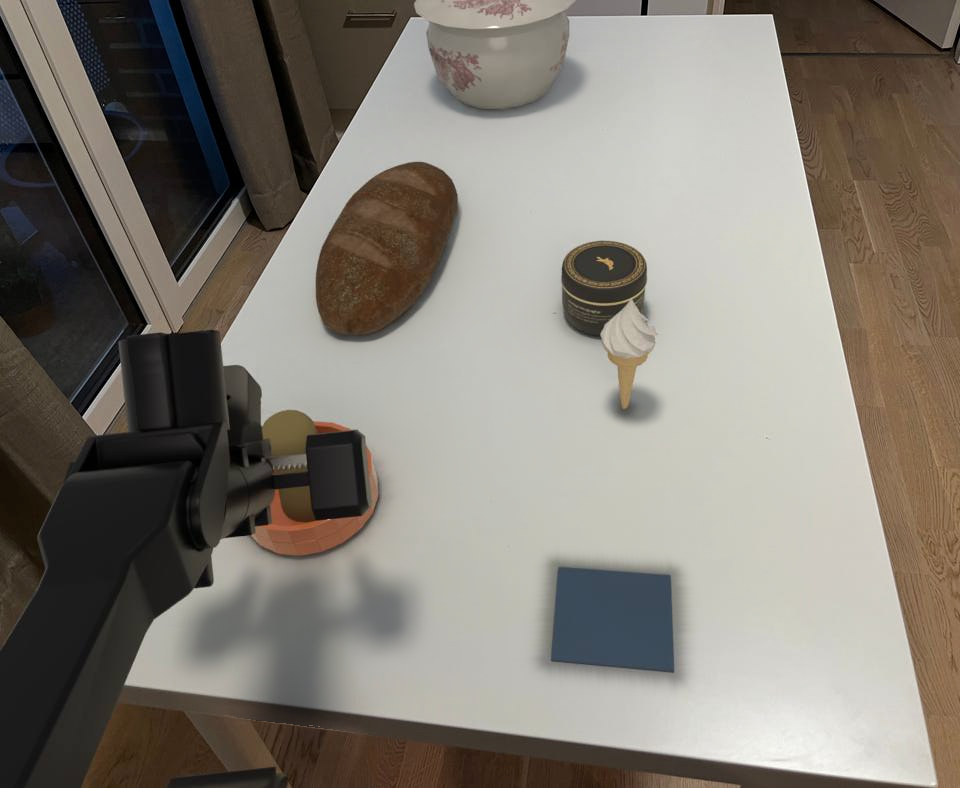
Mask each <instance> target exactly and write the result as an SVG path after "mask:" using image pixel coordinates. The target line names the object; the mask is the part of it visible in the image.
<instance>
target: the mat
mask: <svg viewBox="0 0 960 788" xmlns="http://www.w3.org/2000/svg"><path fill="white" fill-rule="evenodd" d="M672 599H673V598H672V575H671V574H661V573H659V574H657V573H647V572H636V571H635V572H634V571H620V570H619V571H618V570H605V569H593V568H592V569H591V568H579V567H568V566H566V567H565V566H558V567H557V578H556V592H555V602H554V603H555V605H554V617H553V631H552V642H551V643H552V644H551V655H550V661H551V662H559V663H570V664H580V665H592V666H603V667H612V668H613V667H614V668H624V669H636V670H644V671H645V670H647V671H656V672H657V671H658V672H668V673H669V672H670V673H675V657H674V654H675V653H674V630H673V628H674V627H673V602H672Z"/></svg>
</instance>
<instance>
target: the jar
mask: <svg viewBox="0 0 960 788" xmlns="http://www.w3.org/2000/svg"><path fill="white" fill-rule="evenodd" d="M560 278H561V280H560V282H561V302H562V303H561V304H562V309H563V312H564V315H565V318H566V320H567V321H568V323H569V324H570V325H571V327H574V328H575V330H577V331H578V332H580V333H583V334H586V335H590V336H593V337H601V335H600V334H601V332H602V330H603V328H604V325H605V324H606V323H607V322H609V321H610V320H611V319H612V318H613V317H614V316H615V315H616V314H617V313H619V312H620V311H621V310H622V309H623V308H624V307H625V306H626V305H627V304H628V302H629V301H630V300H631V299H632V300H633V302H634V304H635V305H636V307H637V308H638V309H639V312H640V313H641V314H642V312H643V309H644V305H645V294H646V287H647V284H648V266H647V261H646V259H645V257H644V255H643V254H642V253H641V252H640V251H639V250H638V249H636V248H635V247H633V246H632V245H629V244H626V243H624V242H619V241H615V240H595V241H589V242H586V243H583V244H580V245H578V246H576V247H574V248H573V249H571V250H570V251H569V252H567V254H566V255H565V257H564V258H563V261H562V264H561V276H560Z"/></svg>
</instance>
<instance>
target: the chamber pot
mask: <svg viewBox="0 0 960 788" xmlns="http://www.w3.org/2000/svg"><path fill="white" fill-rule="evenodd" d="M576 1H577V0H415V1H414V2H413V3H414V4H413V6H414V9H415V12H416V14H417V15H419V16H420V17H421V18H423V19H424V20H426V21H427V22H429V24H428V26H427V29H426V32H425V34H426V42H427V48H428V51H429V55H430V57H431V61H432V64H433V67H434V70H435V73H436V76H437V77H438V79H439V80H440V81H441V83H442V84H443V85H444V86H445V88H446V89H447V91H448V92H449V93H450V94H451V95H452V96H453V97H455V98H456V99H457V100H458V101H460V102H461V104H464V105H467V106H469V107H471V108H477V109H484V110H505V109H511V108H512V109H513V108H518V107H521V106H524V105H528V104H531V103H533V102H534V101H536V100H538V99H541V98H542V97H543V96H544V95H545V94H546V93H547V92H548V90H550V89H551V88H552V86H553V85H554V83H555V81H556V80H557V78H558V76H559V74H560V73H561V72H562V69H563V68H564V65H565V61H566V54H567V49H568V46H569V45H568V44H569V39H570V19H569V17H568V15H567V14H566V10H568V9H569V8H570V7H571V6H572V5H573V4H574V3H575V2H576Z"/></svg>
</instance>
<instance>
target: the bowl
mask: <svg viewBox="0 0 960 788" xmlns="http://www.w3.org/2000/svg"><path fill="white" fill-rule="evenodd" d="M312 421H313V423H314V425H315V427H316V430H317V434H320V433H329V432H339V431H348V430H352V429H351V428H348V427H346V426H343V425H340V424H338V423H336V422H329V421H318V420H317V421H316V420H315V421H314V420H312ZM366 449H367V458H368V468H369V477H370V487H371V496H372V505H371V506H370V508H369V509H368V510H367V511H366V512H365V513H364V514H363V515H362V516H358V517H348V518H339V519H329V520H320V521H312V522H297V521H294V520H292V519H290V518H289V517H287V516H286V515H285V514H284V512H283V509H282V507H281V502H280V497H279V492H278V489H275V495H274V499H273V501H272V503H271V504H270V508H271V517H272V523H271V524H269V525H265V526H255V531H256V533H254V534H253V535H250V537H251V538H252V539H253V540H254V541H255V542H256V543H257V544H258V545H259V546H260V547H261V548H265V549H267V550H268V551H272V552H274V553H275V554H278V555H287V556H297V557H299V556H305V555H311V554H312V555H313V554H317V553H321V552H322V553H323V552H325V551H328V550H329V549H330V550H331V549H332V548H334V547H336V546H339V545H341V544H343V543H344V542H346V541H347V540H349V539H350V538H351V537H352V536H354V535H355V534H356V533H358V531H359V532H360V530H361V529H362V528H363V527H364V526H365V524H366V523H367V522H368V520H369V519H370V517H371V516H372V515H373V513H374V510H375V507H376V504H377V501H378V497H379V481H378V480H379V479H378V476H377V475H378V474H377V471H376V468H375V464H374V461H373V456H372V453H371V451H370V449H369V447H368V445H367V444H366ZM267 458H269V457H267ZM273 474H275V471H273Z"/></svg>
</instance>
